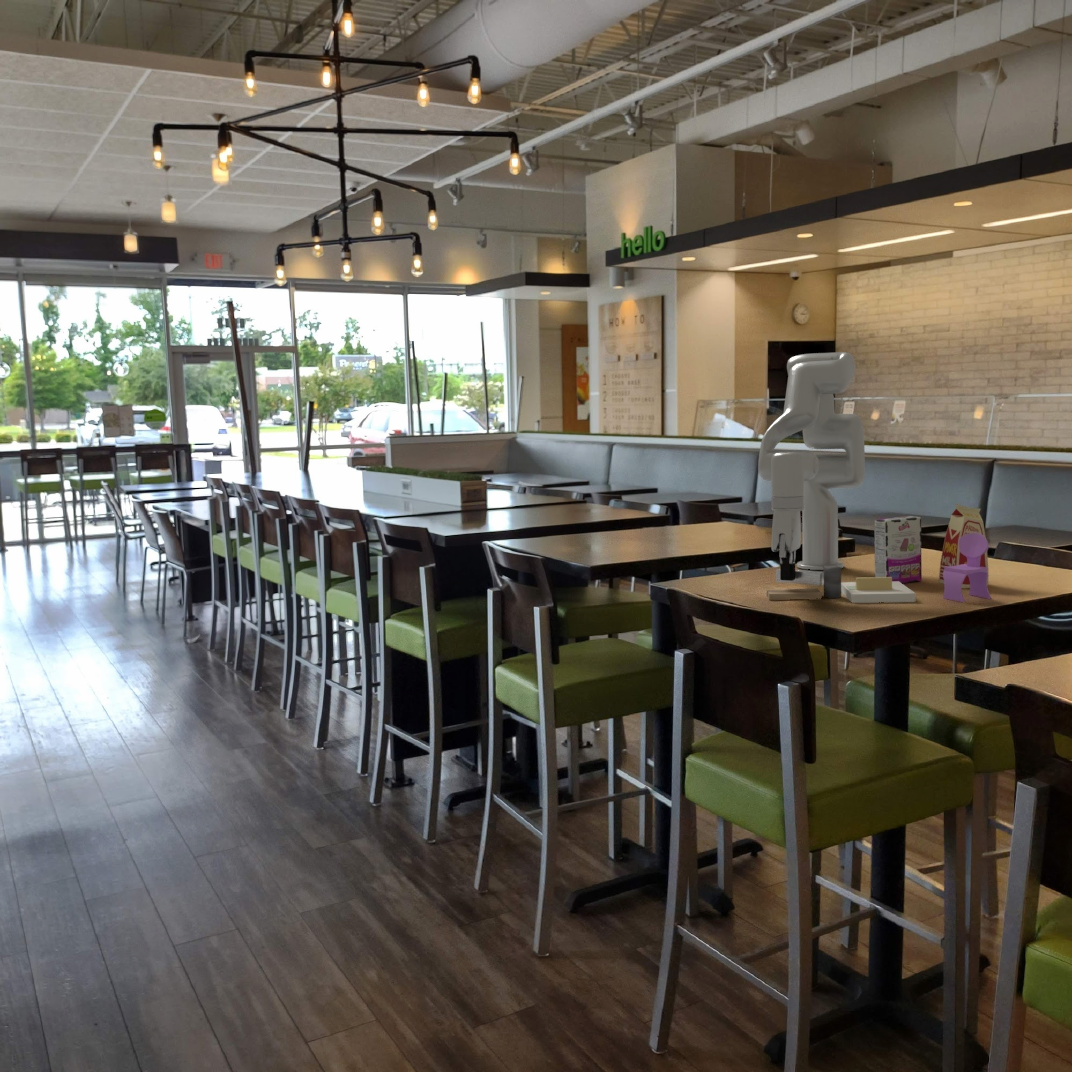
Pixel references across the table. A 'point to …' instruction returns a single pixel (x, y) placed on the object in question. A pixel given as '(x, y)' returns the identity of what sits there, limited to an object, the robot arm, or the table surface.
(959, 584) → the toy chair
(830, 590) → the jamb
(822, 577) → the swing bar
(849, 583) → the butter dish
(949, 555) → the milk carton
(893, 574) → the candy bar box
